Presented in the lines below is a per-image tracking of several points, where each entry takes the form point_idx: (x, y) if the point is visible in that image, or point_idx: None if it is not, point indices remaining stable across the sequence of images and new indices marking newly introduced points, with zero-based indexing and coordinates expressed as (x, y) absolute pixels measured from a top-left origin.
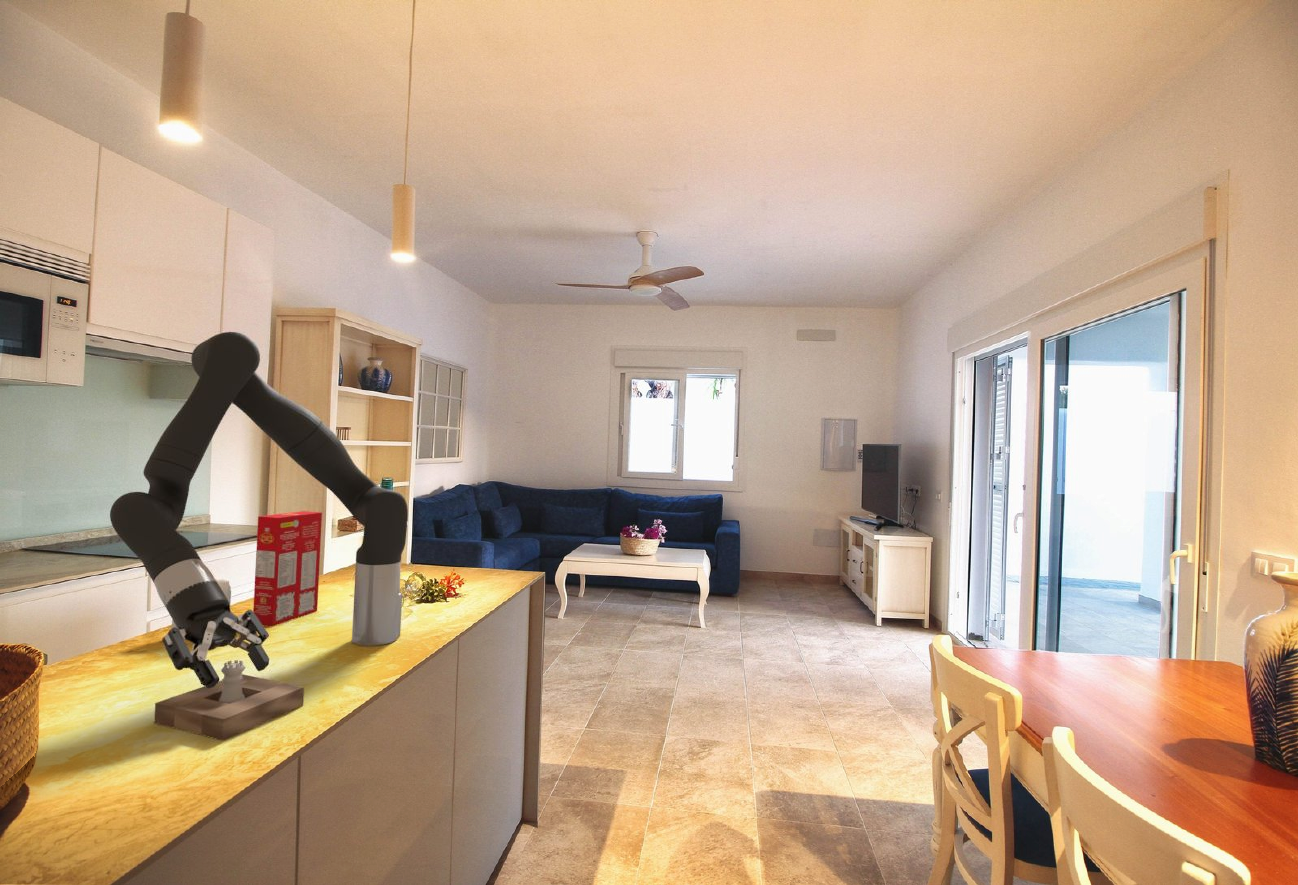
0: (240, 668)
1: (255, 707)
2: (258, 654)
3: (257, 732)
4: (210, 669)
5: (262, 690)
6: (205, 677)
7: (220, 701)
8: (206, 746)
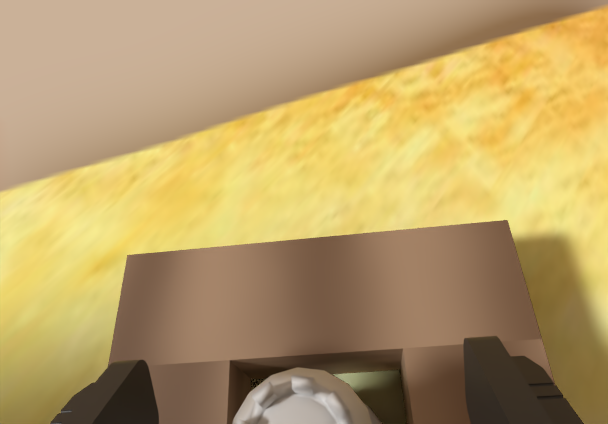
0: (296, 372)
1: (362, 234)
2: (106, 421)
3: (387, 222)
4: (517, 379)
5: (220, 369)
6: (548, 376)
7: None
8: (547, 259)
